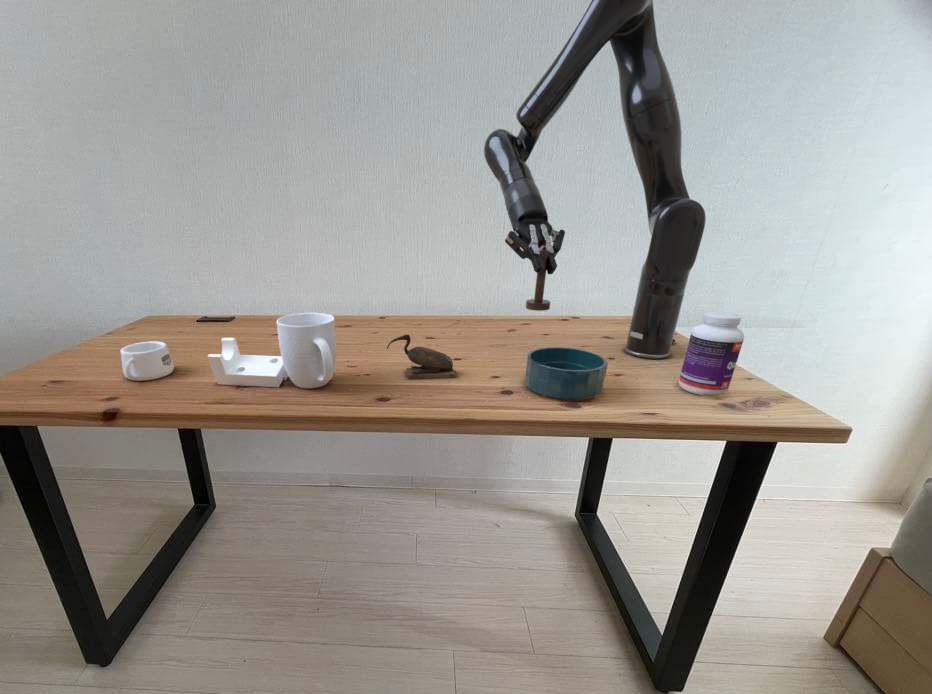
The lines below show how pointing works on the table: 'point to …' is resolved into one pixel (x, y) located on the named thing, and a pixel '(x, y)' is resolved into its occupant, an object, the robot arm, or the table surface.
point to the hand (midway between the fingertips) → (547, 271)
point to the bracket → (246, 367)
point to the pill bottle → (712, 354)
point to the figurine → (427, 362)
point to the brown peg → (540, 289)
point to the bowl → (565, 373)
